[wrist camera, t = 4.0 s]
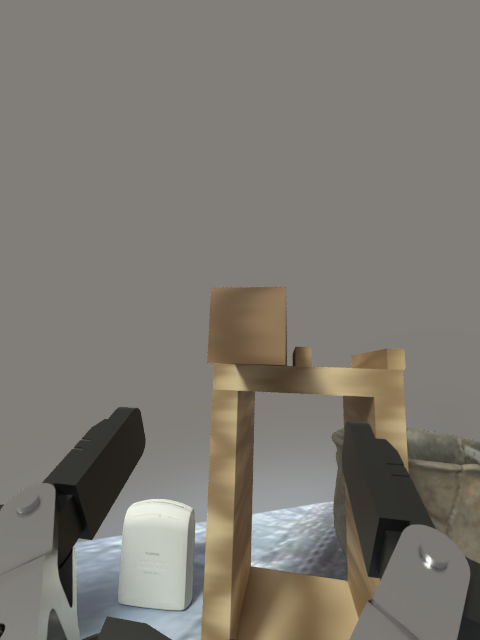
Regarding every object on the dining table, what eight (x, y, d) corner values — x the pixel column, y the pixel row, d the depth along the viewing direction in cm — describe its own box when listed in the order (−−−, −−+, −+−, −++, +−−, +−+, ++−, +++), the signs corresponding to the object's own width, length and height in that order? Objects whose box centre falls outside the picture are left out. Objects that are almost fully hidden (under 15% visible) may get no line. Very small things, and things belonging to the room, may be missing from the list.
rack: (186, 883, 18) (212, 345, 23) (226, 678, 29) (237, 352, 35) (441, 972, 15) (404, 349, 21) (375, 711, 27) (362, 356, 32)
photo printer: (110, 607, 38) (120, 505, 40) (126, 583, 42) (134, 491, 44) (187, 617, 36) (192, 511, 38) (195, 591, 41) (200, 497, 43)
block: (207, 362, 15) (211, 287, 15) (256, 365, 38) (257, 336, 39) (285, 365, 14) (285, 287, 15) (286, 367, 38) (286, 336, 38)
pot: (339, 529, 58) (337, 419, 61) (485, 564, 49) (473, 432, 52) (326, 632, 35) (323, 448, 38) (595, 734, 26) (560, 480, 29)
